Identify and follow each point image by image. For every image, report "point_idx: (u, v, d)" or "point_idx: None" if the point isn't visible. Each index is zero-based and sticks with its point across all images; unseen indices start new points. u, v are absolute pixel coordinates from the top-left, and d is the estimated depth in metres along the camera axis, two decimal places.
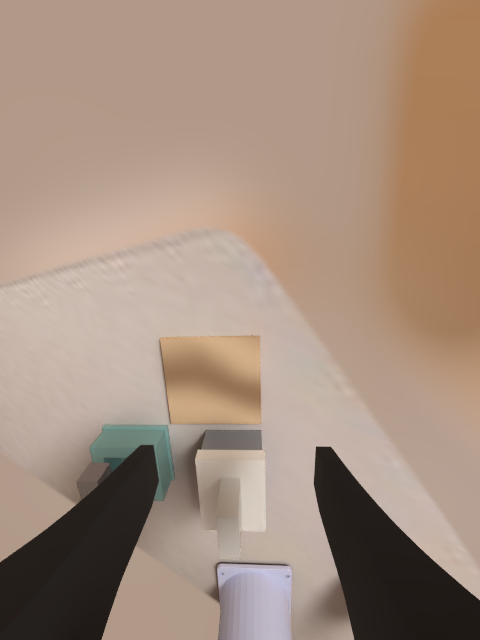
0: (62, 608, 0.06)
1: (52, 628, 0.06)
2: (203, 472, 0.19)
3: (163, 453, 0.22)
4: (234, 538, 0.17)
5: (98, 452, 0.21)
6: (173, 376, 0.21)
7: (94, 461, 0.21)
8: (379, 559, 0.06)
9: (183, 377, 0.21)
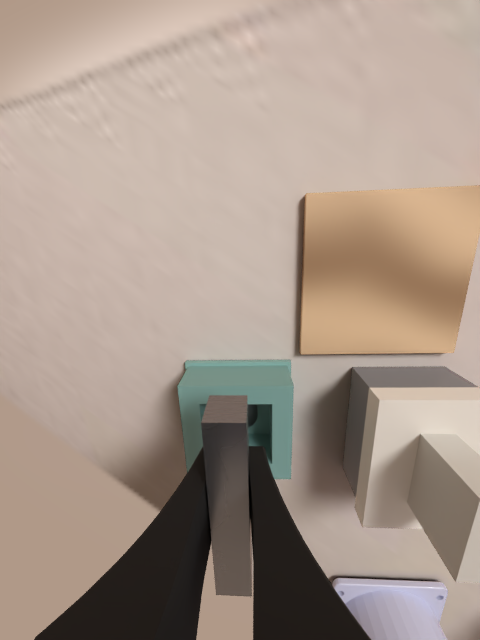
0: (179, 614, 0.06)
1: (175, 635, 0.05)
2: (389, 424, 0.11)
3: None
4: None
5: (191, 395, 0.12)
6: (318, 266, 0.12)
7: (182, 411, 0.12)
8: (261, 555, 0.06)
9: (336, 269, 0.12)
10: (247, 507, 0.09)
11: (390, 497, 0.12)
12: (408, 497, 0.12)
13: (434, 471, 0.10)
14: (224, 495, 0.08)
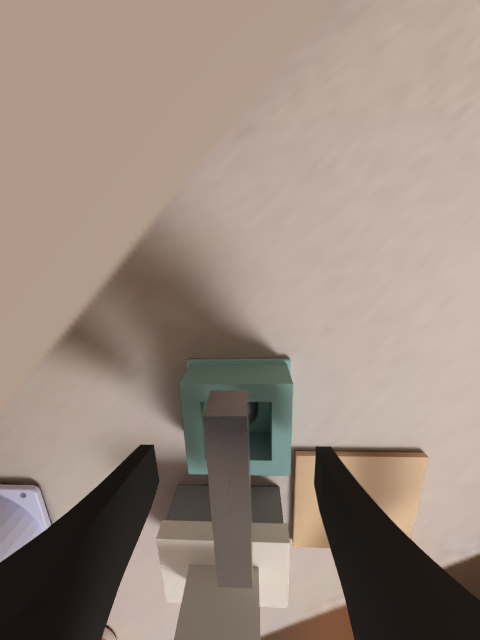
0: (62, 609, 0.06)
1: (52, 628, 0.06)
2: (266, 549, 0.14)
3: None
4: None
5: (282, 395, 0.12)
6: (371, 466, 0.16)
7: (263, 386, 0.12)
8: (379, 559, 0.06)
9: (367, 477, 0.16)
10: (248, 499, 0.09)
11: (193, 554, 0.14)
12: (194, 565, 0.14)
13: (242, 592, 0.13)
14: (225, 488, 0.09)
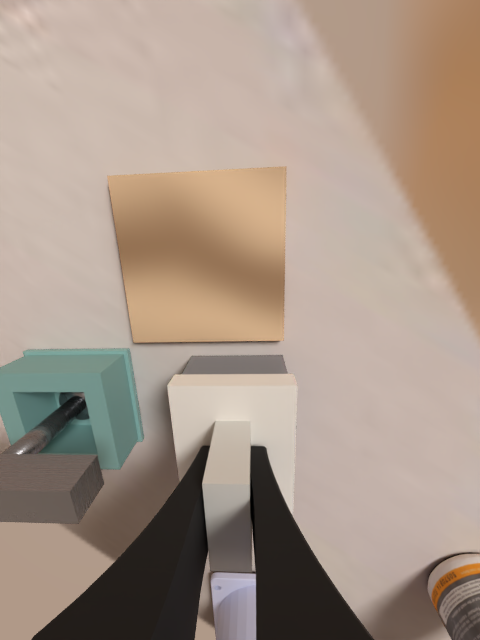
0: (176, 614, 0.06)
1: (172, 635, 0.05)
2: (183, 411, 0.11)
3: (120, 391, 0.13)
4: (241, 530, 0.08)
5: (2, 382, 0.12)
6: (134, 251, 0.12)
7: None
8: (263, 555, 0.06)
9: (151, 254, 0.12)
10: None
11: None
12: None
13: None
14: None
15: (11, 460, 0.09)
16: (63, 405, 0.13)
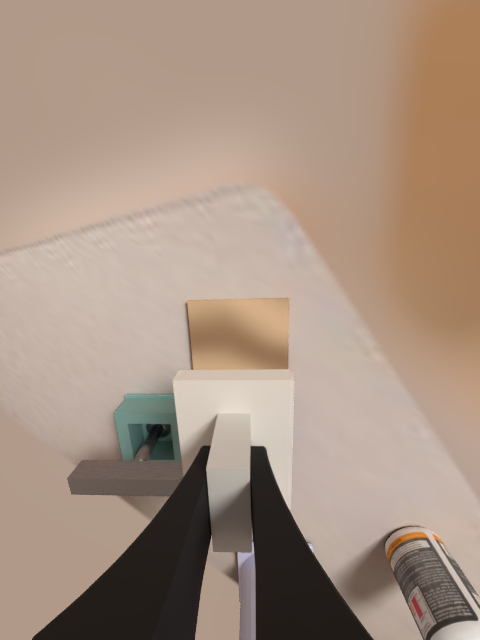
0: (177, 614, 0.06)
1: (173, 635, 0.05)
2: (187, 404, 0.11)
3: None
4: (242, 513, 0.09)
5: (122, 418, 0.20)
6: (199, 340, 0.20)
7: (118, 428, 0.21)
8: (263, 555, 0.06)
9: (209, 342, 0.20)
10: (116, 479, 0.17)
11: None
12: None
13: None
14: (110, 488, 0.17)
15: (144, 464, 0.18)
16: (152, 430, 0.21)
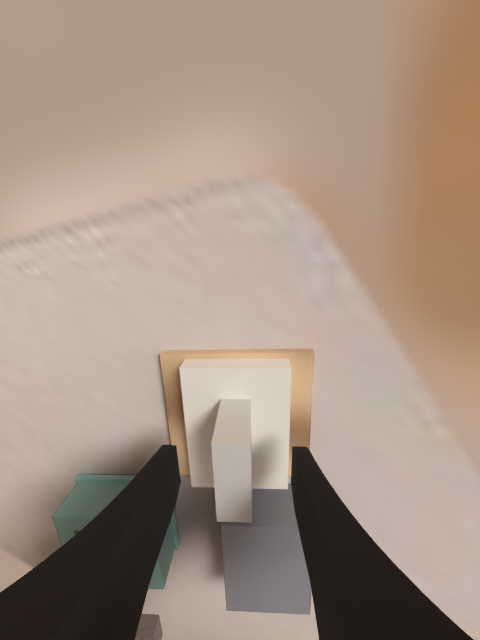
0: (103, 611, 0.06)
1: (95, 630, 0.06)
2: (192, 390, 0.12)
3: None
4: (243, 485, 0.10)
5: (65, 523, 0.14)
6: (179, 408, 0.14)
7: (60, 535, 0.14)
8: (337, 558, 0.06)
9: None
10: None
11: (209, 458, 0.13)
12: None
13: None
14: None
15: None
16: None
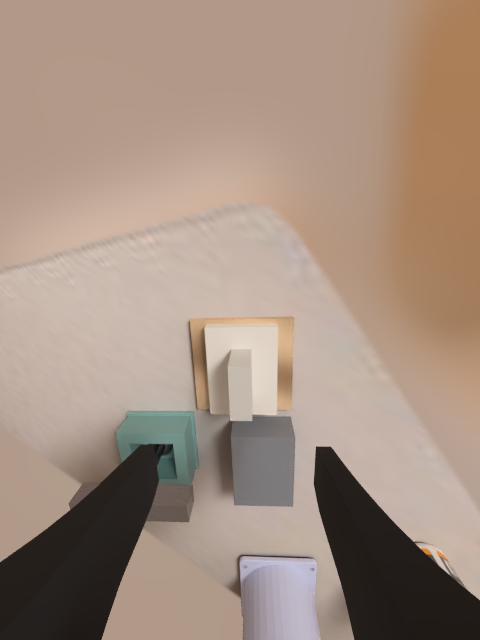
0: (62, 608, 0.06)
1: (52, 628, 0.06)
2: (212, 343, 0.19)
3: (189, 440, 0.21)
4: (247, 394, 0.16)
5: (124, 438, 0.20)
6: (202, 359, 0.20)
7: (119, 447, 0.20)
8: (379, 559, 0.06)
9: None
10: None
11: (223, 392, 0.20)
12: None
13: None
14: None
15: None
16: (154, 448, 0.21)
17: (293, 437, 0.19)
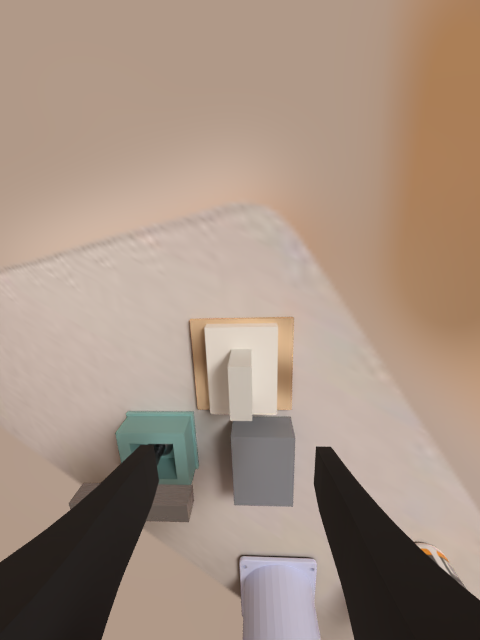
0: (62, 608, 0.06)
1: (52, 628, 0.06)
2: (212, 343, 0.19)
3: (189, 440, 0.21)
4: (247, 394, 0.16)
5: (124, 438, 0.20)
6: (202, 359, 0.20)
7: (119, 447, 0.20)
8: (379, 559, 0.06)
9: None
10: None
11: (223, 392, 0.20)
12: None
13: None
14: None
15: None
16: (154, 448, 0.21)
17: (293, 437, 0.19)
